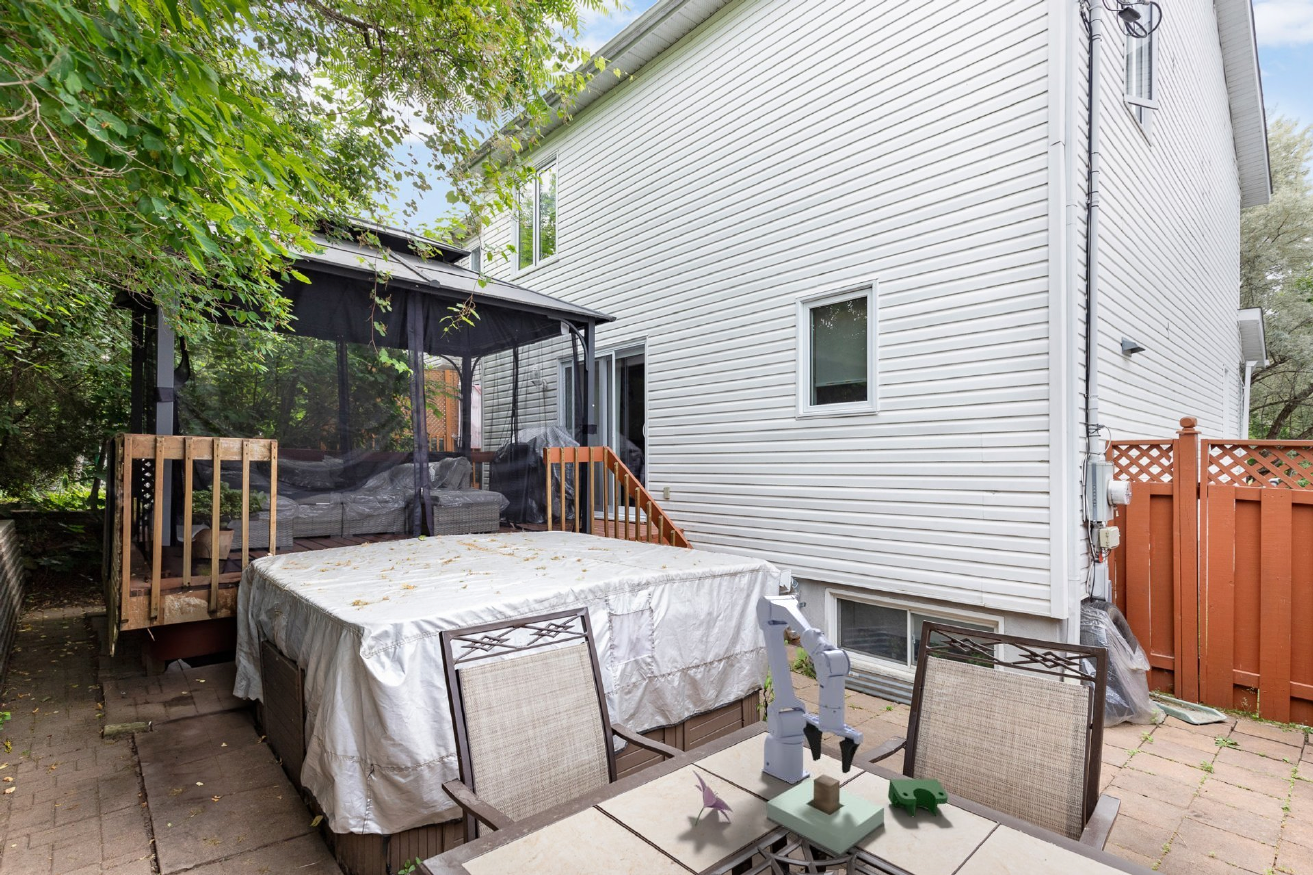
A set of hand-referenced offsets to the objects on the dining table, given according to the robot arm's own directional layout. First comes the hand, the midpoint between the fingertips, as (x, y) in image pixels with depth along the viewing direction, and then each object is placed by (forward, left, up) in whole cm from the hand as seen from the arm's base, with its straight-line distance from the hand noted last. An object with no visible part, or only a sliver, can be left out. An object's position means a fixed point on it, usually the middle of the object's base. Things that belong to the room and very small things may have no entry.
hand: (831, 765), depth 140 cm
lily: (-15, -24, -10) cm, 30 cm away
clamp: (+13, +15, -10) cm, 23 cm away
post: (+2, -5, -9) cm, 10 cm away
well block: (+2, -5, -10) cm, 11 cm away
